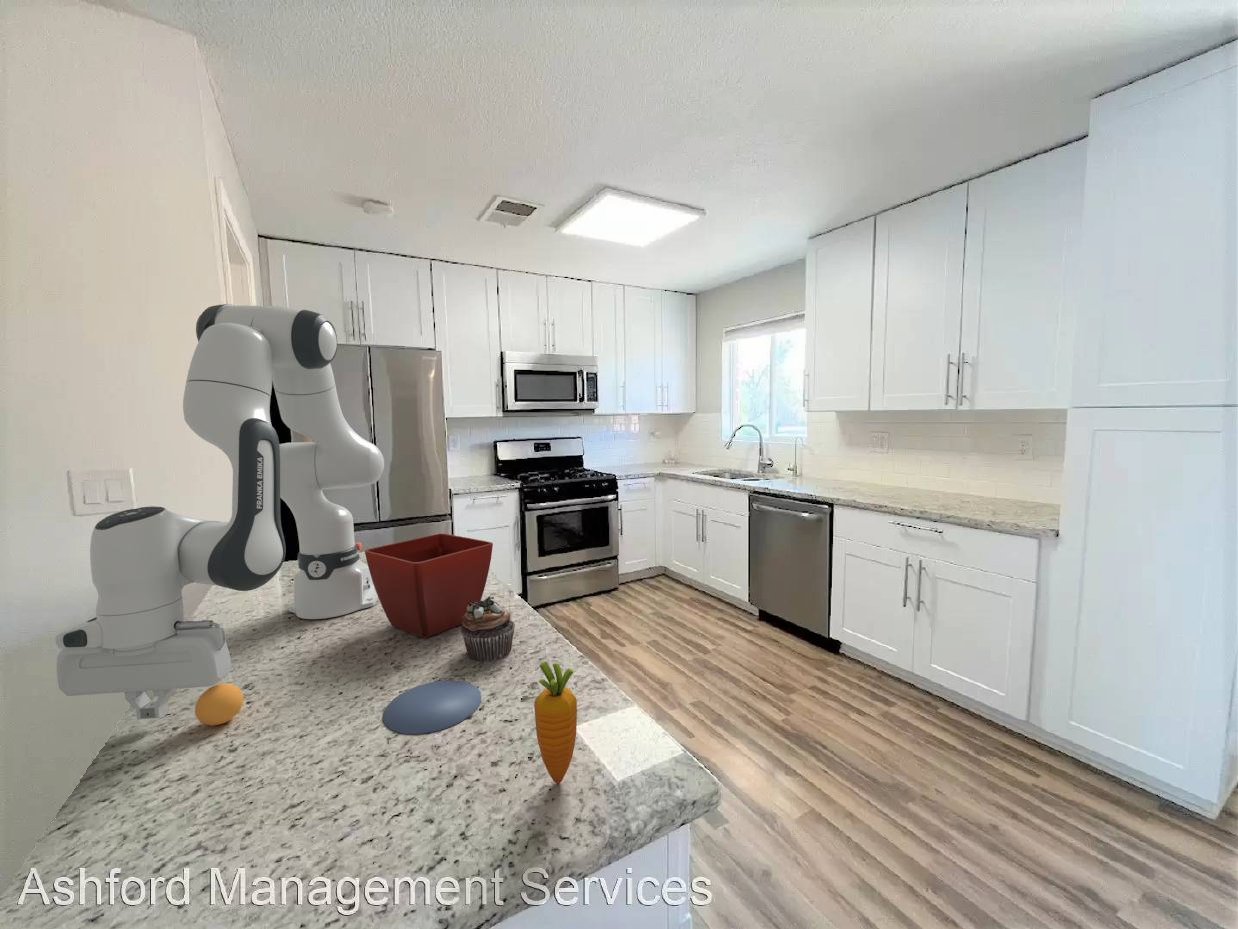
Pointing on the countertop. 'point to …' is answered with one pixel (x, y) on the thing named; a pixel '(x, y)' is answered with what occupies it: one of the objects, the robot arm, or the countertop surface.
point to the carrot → (556, 721)
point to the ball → (219, 704)
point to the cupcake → (487, 630)
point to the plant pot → (429, 580)
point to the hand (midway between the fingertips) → (153, 716)
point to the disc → (432, 707)
